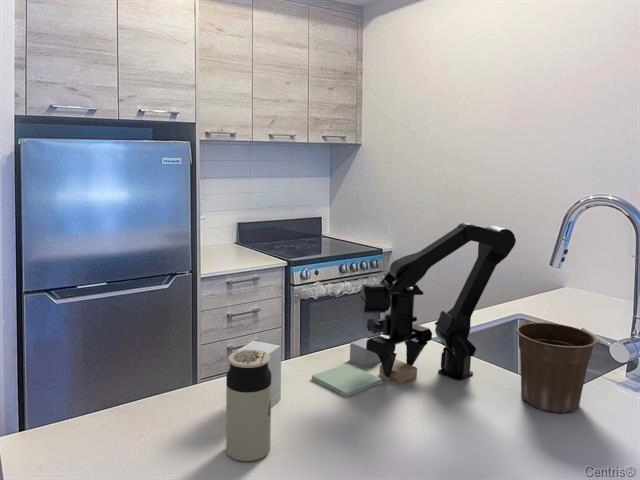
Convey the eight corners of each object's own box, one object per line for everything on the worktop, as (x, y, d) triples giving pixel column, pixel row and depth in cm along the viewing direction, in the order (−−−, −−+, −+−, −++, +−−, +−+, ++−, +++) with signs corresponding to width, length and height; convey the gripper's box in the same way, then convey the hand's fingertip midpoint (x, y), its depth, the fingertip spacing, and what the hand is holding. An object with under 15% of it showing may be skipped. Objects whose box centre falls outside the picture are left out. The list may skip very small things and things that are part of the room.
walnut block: (416, 379, 128) (417, 367, 127) (401, 385, 124) (401, 374, 123) (394, 370, 133) (395, 359, 132) (379, 376, 129) (379, 364, 128)
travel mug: (220, 460, 91) (219, 363, 88) (234, 436, 99) (235, 346, 96) (263, 465, 90) (264, 367, 87) (275, 441, 97) (276, 350, 95)
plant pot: (509, 409, 113) (515, 339, 110) (511, 380, 128) (517, 318, 125) (592, 425, 107) (601, 351, 104) (584, 393, 122) (592, 328, 119)
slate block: (381, 361, 137) (382, 344, 137) (365, 367, 133) (366, 349, 133) (365, 355, 142) (365, 337, 141) (349, 360, 138) (350, 342, 137)
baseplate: (381, 382, 124) (382, 378, 124) (346, 397, 116) (346, 392, 116) (346, 366, 133) (347, 363, 133) (311, 379, 125) (311, 375, 125)
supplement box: (281, 399, 114) (282, 345, 112) (264, 414, 108) (265, 356, 106) (253, 392, 117) (253, 339, 115) (234, 406, 111) (235, 350, 109)
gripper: (400, 298, 137) (397, 353, 140) (351, 310, 125) (348, 371, 128) (435, 308, 129) (431, 366, 132) (385, 322, 117) (382, 386, 120)
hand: (398, 372), depth 128 cm, fingers open, 8 cm apart
